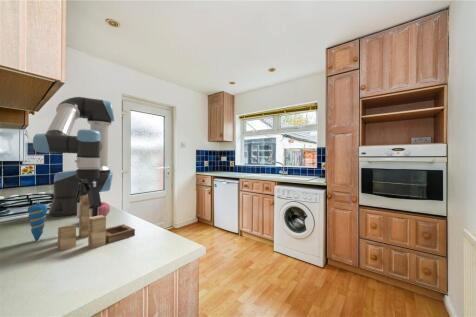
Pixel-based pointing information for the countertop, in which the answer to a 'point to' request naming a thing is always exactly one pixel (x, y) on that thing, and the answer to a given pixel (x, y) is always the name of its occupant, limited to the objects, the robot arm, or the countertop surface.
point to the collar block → (119, 233)
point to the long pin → (84, 216)
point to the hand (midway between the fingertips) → (87, 221)
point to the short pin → (66, 237)
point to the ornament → (37, 219)
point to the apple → (103, 209)
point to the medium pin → (97, 231)
